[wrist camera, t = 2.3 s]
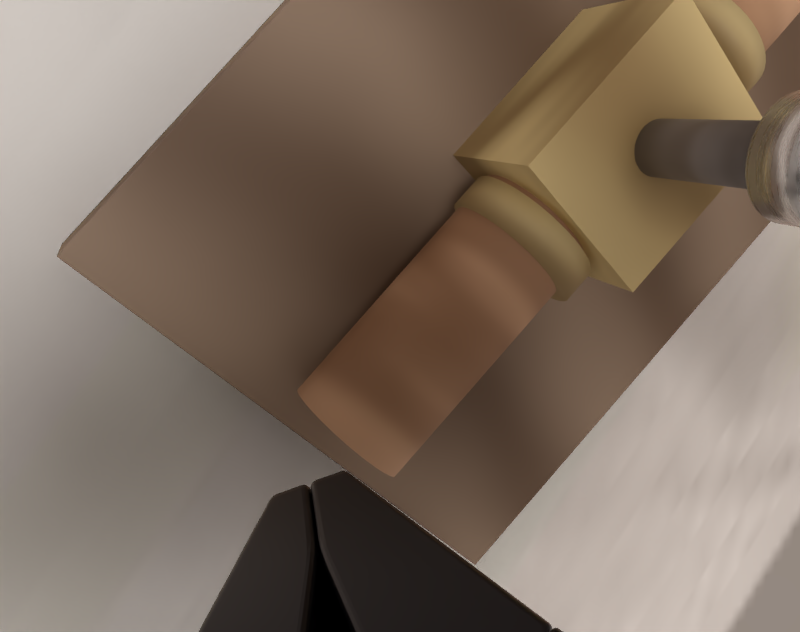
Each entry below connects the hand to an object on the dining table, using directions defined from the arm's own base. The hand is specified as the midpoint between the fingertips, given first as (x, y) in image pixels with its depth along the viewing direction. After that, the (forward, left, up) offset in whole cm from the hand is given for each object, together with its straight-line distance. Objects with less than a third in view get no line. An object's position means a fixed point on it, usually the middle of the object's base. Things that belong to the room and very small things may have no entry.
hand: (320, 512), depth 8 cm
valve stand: (+5, -8, -11) cm, 14 cm away
